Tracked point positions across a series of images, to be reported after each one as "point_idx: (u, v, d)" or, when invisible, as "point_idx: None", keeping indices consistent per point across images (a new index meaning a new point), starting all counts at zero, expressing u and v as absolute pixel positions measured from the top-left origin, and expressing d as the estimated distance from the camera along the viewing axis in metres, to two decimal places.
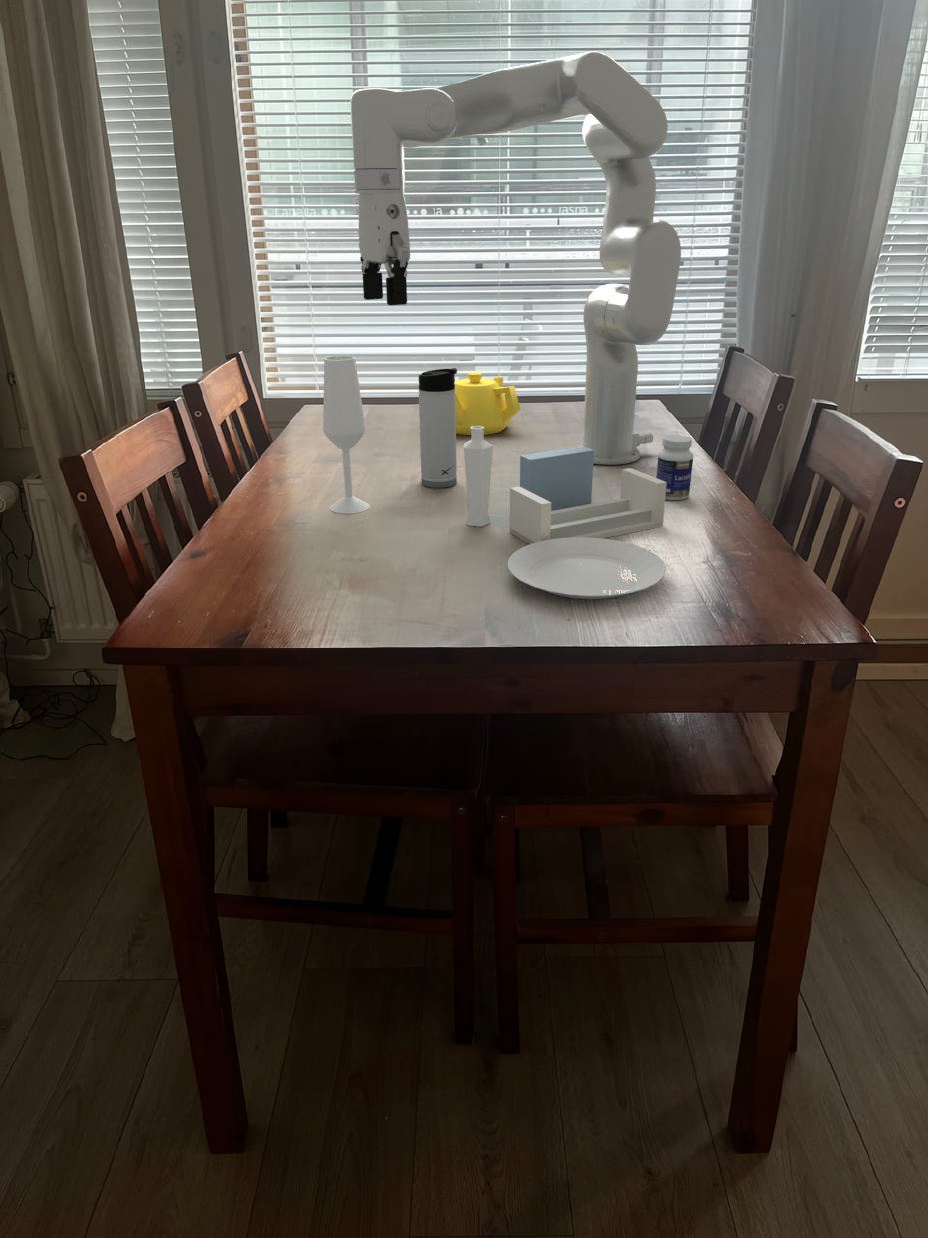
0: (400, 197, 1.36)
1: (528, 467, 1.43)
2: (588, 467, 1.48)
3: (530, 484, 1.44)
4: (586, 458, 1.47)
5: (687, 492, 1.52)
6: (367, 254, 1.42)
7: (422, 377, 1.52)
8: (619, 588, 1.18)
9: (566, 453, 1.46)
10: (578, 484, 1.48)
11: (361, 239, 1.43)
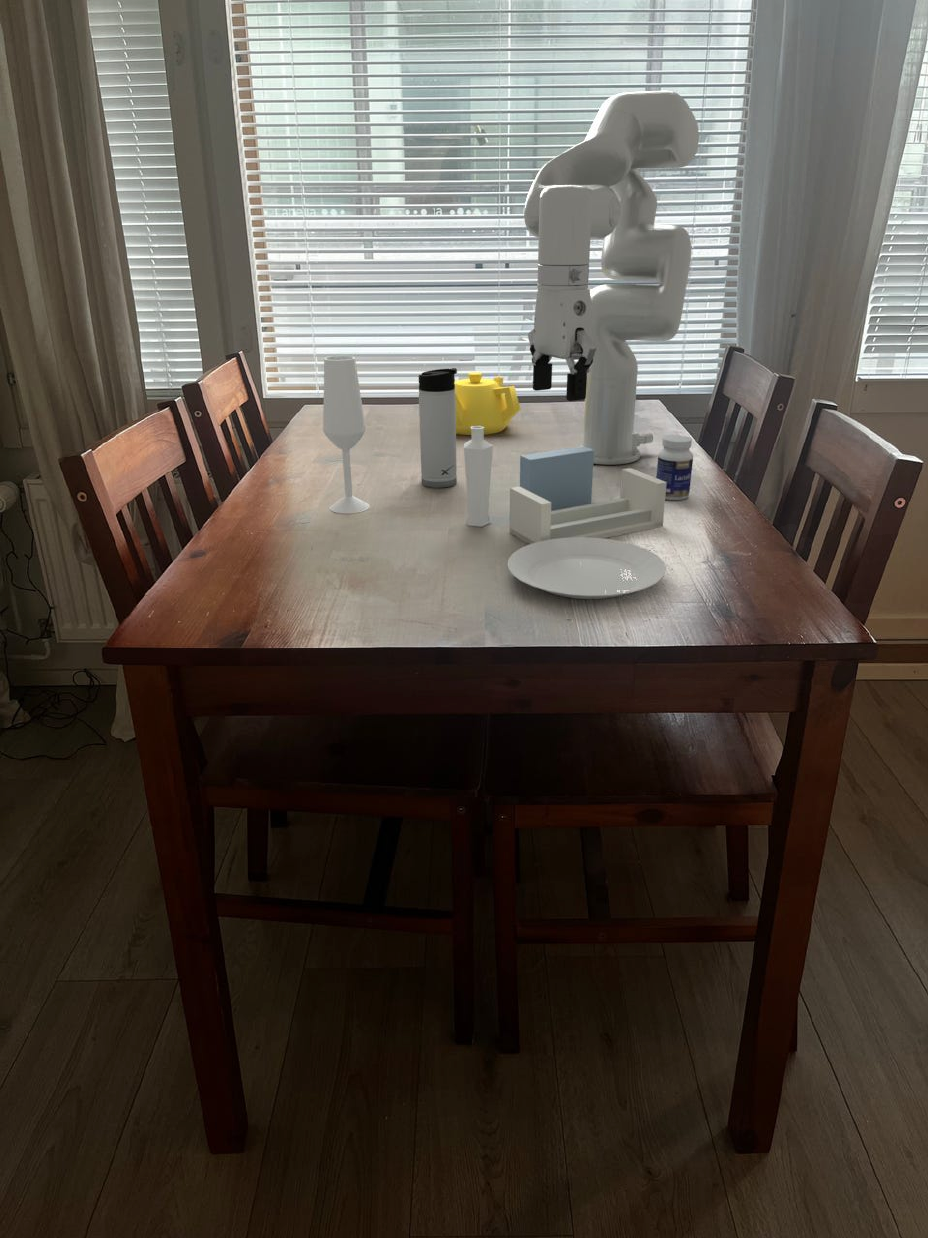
0: (587, 293, 1.32)
1: (528, 467, 1.43)
2: (588, 467, 1.48)
3: (530, 484, 1.44)
4: (586, 458, 1.47)
5: (687, 492, 1.52)
6: (544, 347, 1.39)
7: (422, 377, 1.52)
8: (619, 588, 1.18)
9: (566, 453, 1.46)
10: (578, 484, 1.48)
11: (537, 332, 1.40)
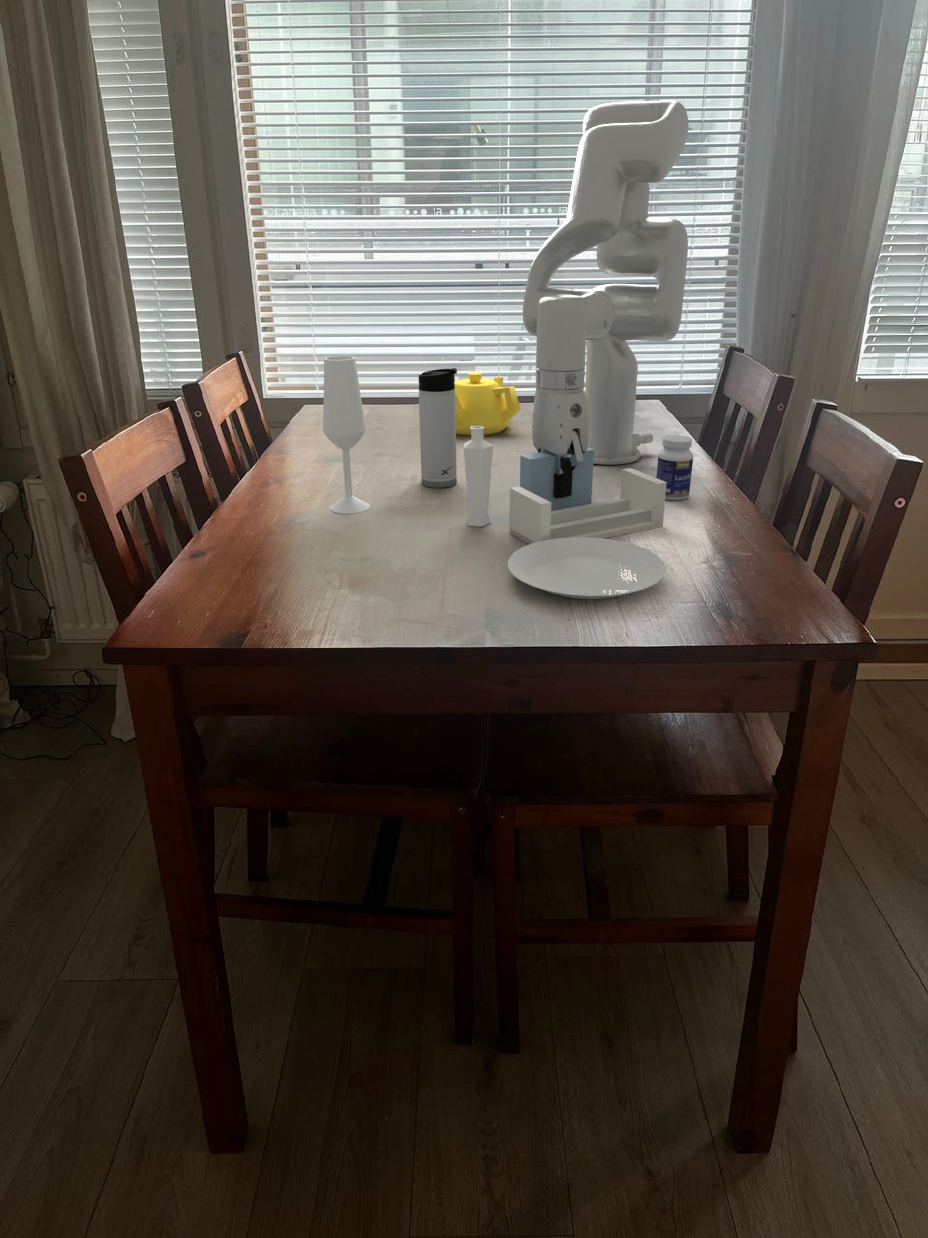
0: (583, 396, 1.39)
1: (528, 466, 1.43)
2: (588, 467, 1.48)
3: (530, 484, 1.44)
4: (586, 458, 1.47)
5: (687, 492, 1.52)
6: (542, 443, 1.45)
7: (422, 377, 1.52)
8: (619, 588, 1.18)
9: None
10: (578, 484, 1.48)
11: (536, 428, 1.46)
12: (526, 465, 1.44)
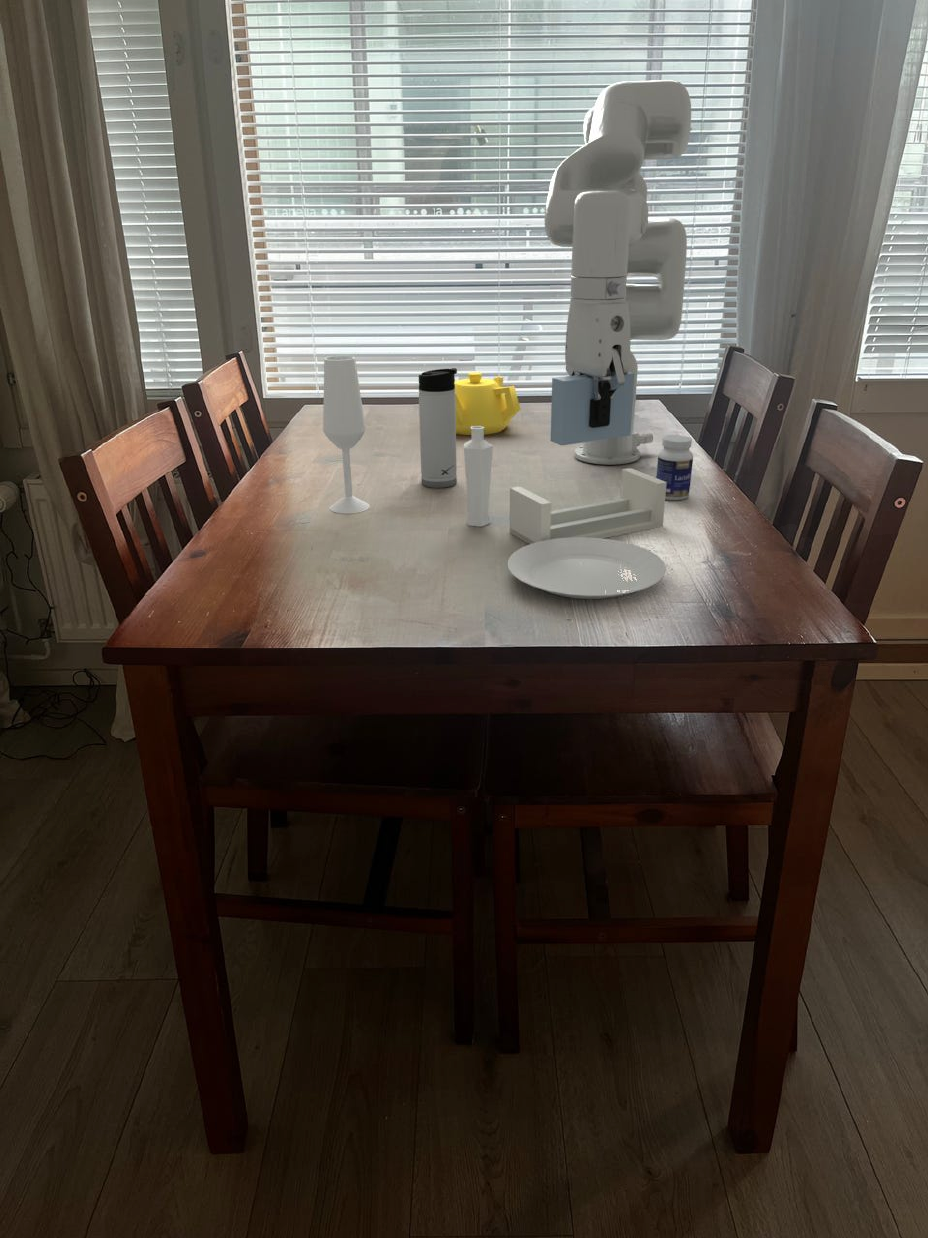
0: (625, 308, 1.22)
1: (562, 389, 1.27)
2: (628, 393, 1.31)
3: (564, 410, 1.28)
4: (626, 382, 1.31)
5: (687, 492, 1.52)
6: (577, 365, 1.29)
7: (422, 377, 1.52)
8: (619, 588, 1.18)
9: None
10: (616, 412, 1.32)
11: (569, 348, 1.30)
12: (559, 388, 1.27)
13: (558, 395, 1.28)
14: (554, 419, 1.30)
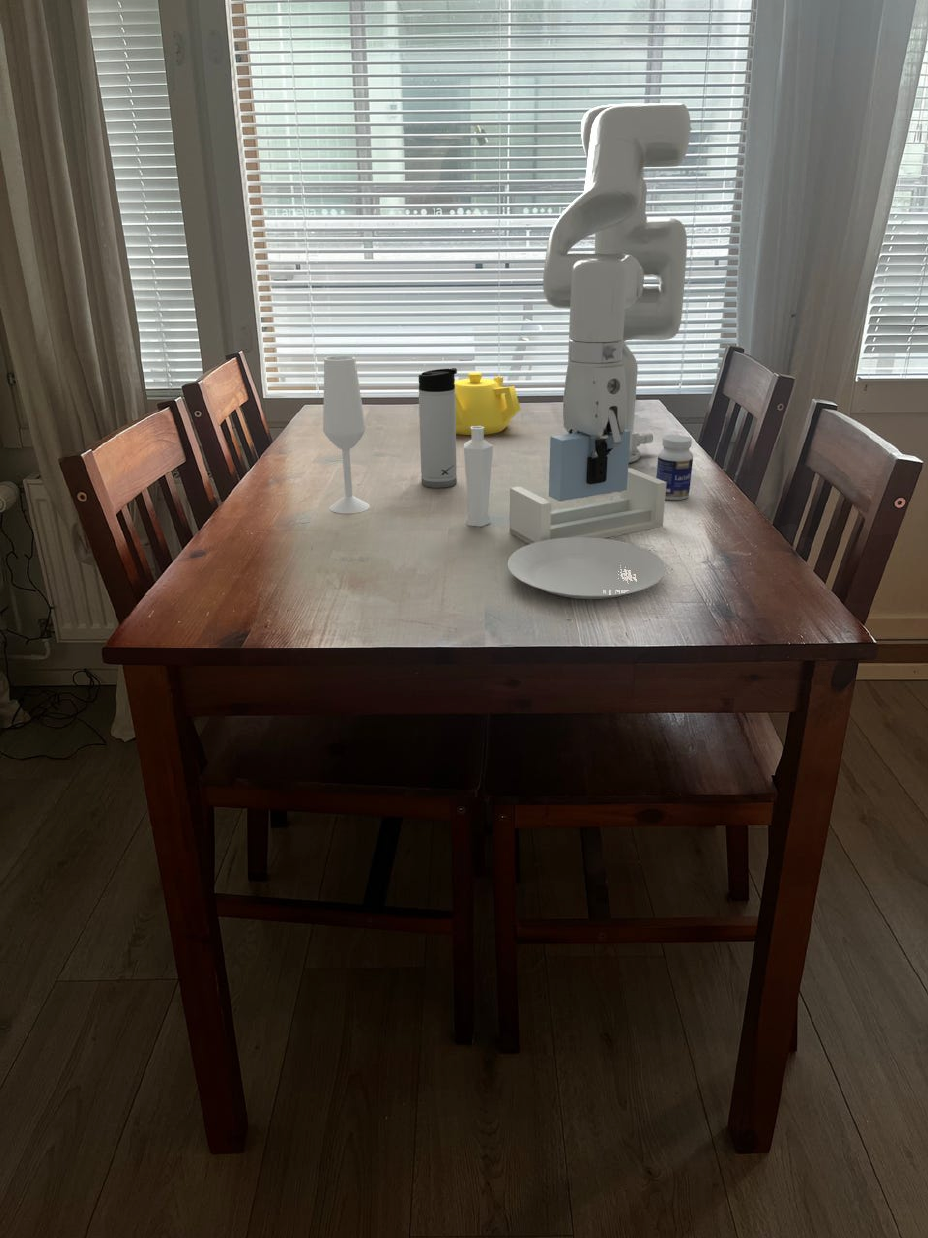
0: (621, 371, 1.26)
1: (560, 448, 1.30)
2: (624, 450, 1.35)
3: (561, 468, 1.31)
4: (622, 440, 1.34)
5: (687, 492, 1.52)
6: (575, 424, 1.32)
7: (422, 377, 1.52)
8: (619, 588, 1.18)
9: None
10: (613, 469, 1.35)
11: (567, 407, 1.33)
12: (557, 447, 1.31)
13: (556, 453, 1.31)
14: (552, 476, 1.33)
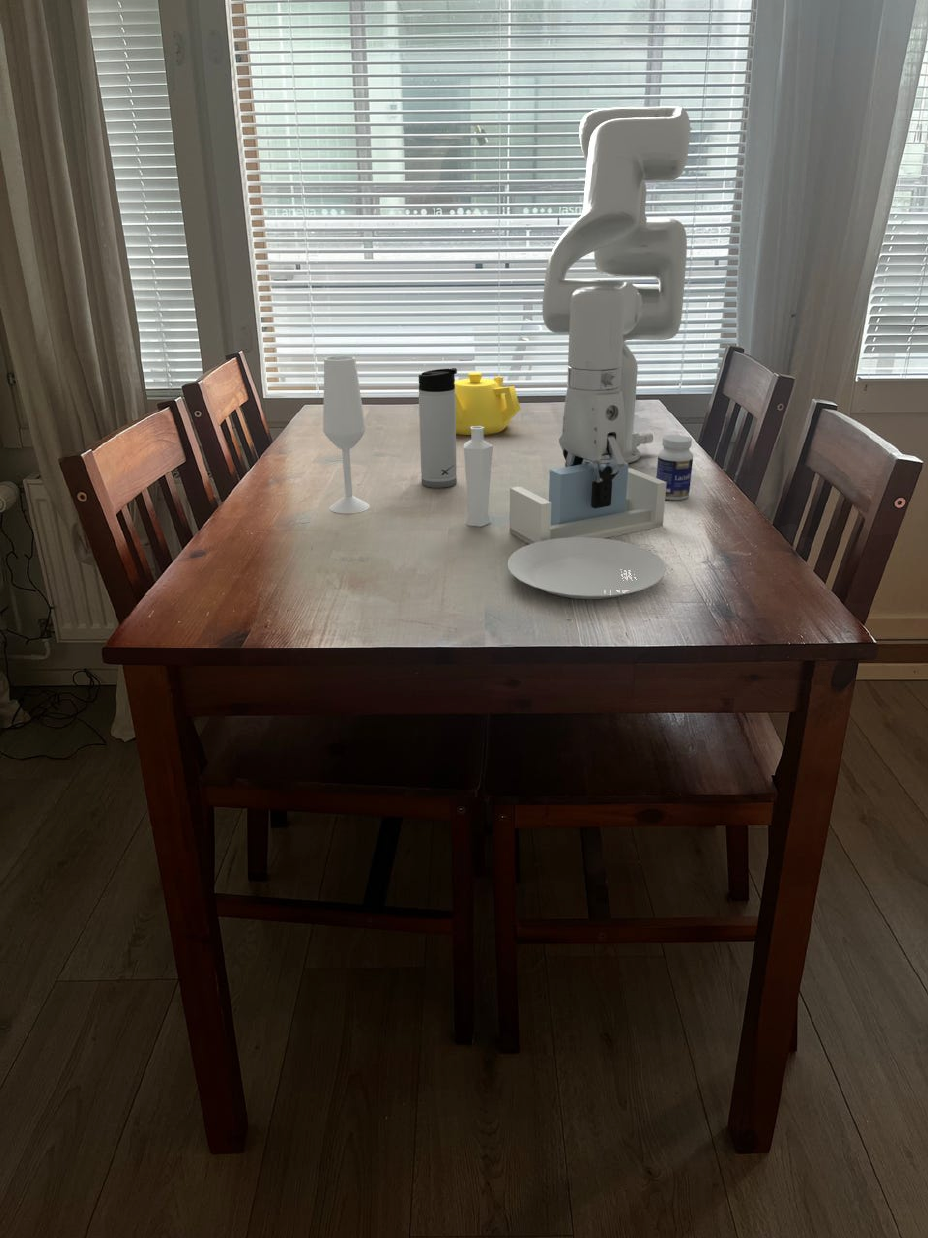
0: (619, 397, 1.27)
1: (559, 482, 1.32)
2: (622, 482, 1.37)
3: (561, 501, 1.33)
4: (620, 472, 1.36)
5: (687, 492, 1.52)
6: (574, 448, 1.34)
7: (422, 377, 1.52)
8: (619, 588, 1.18)
9: None
10: (611, 500, 1.38)
11: (566, 431, 1.35)
12: (556, 480, 1.33)
13: (555, 486, 1.33)
14: (551, 508, 1.36)
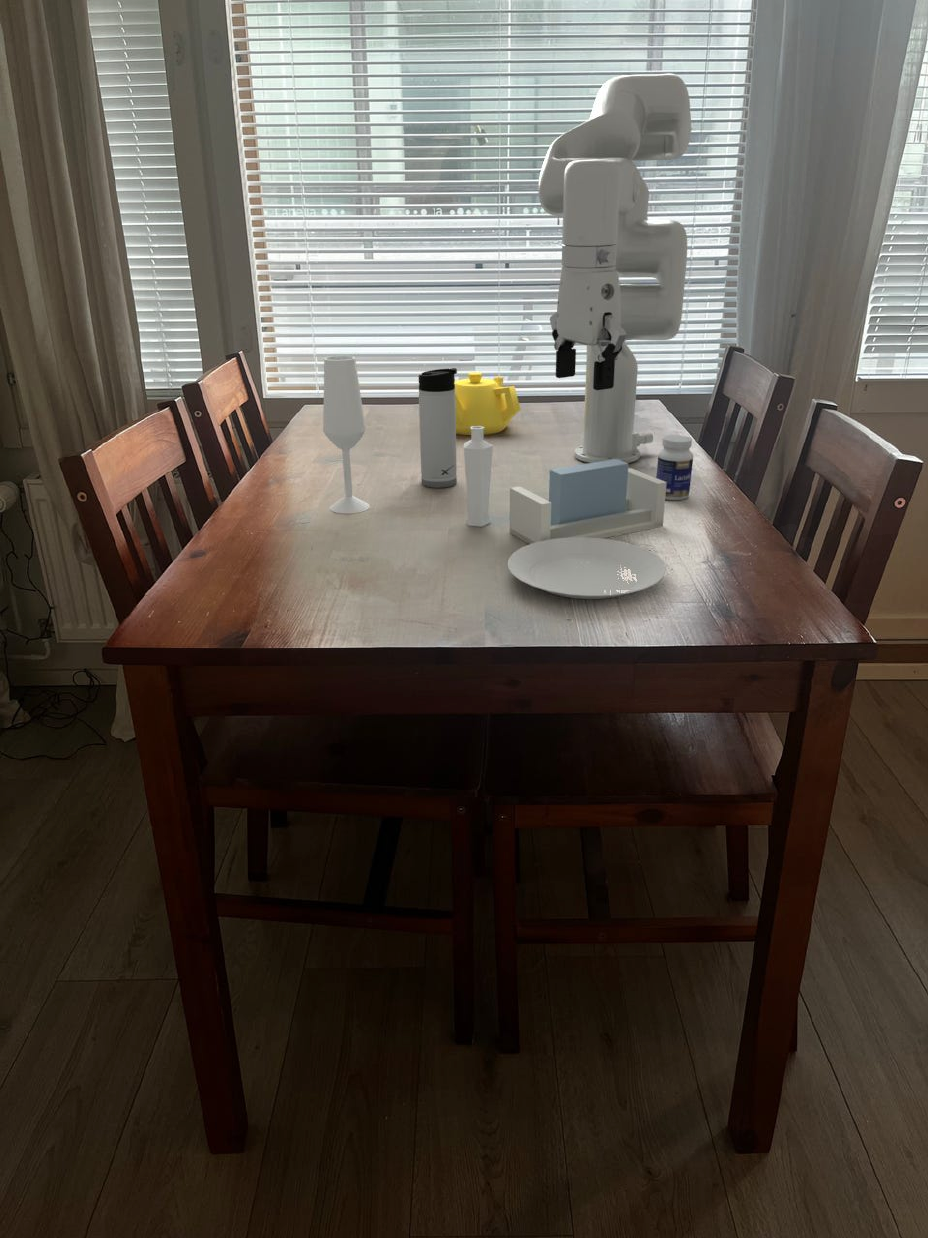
0: (615, 276, 1.25)
1: (559, 482, 1.32)
2: (622, 482, 1.37)
3: (561, 501, 1.33)
4: (620, 472, 1.36)
5: (687, 492, 1.52)
6: (569, 333, 1.31)
7: (422, 377, 1.52)
8: (619, 588, 1.18)
9: (599, 467, 1.35)
10: (611, 500, 1.38)
11: (561, 316, 1.32)
12: (556, 480, 1.33)
13: (555, 486, 1.33)
14: (551, 508, 1.36)
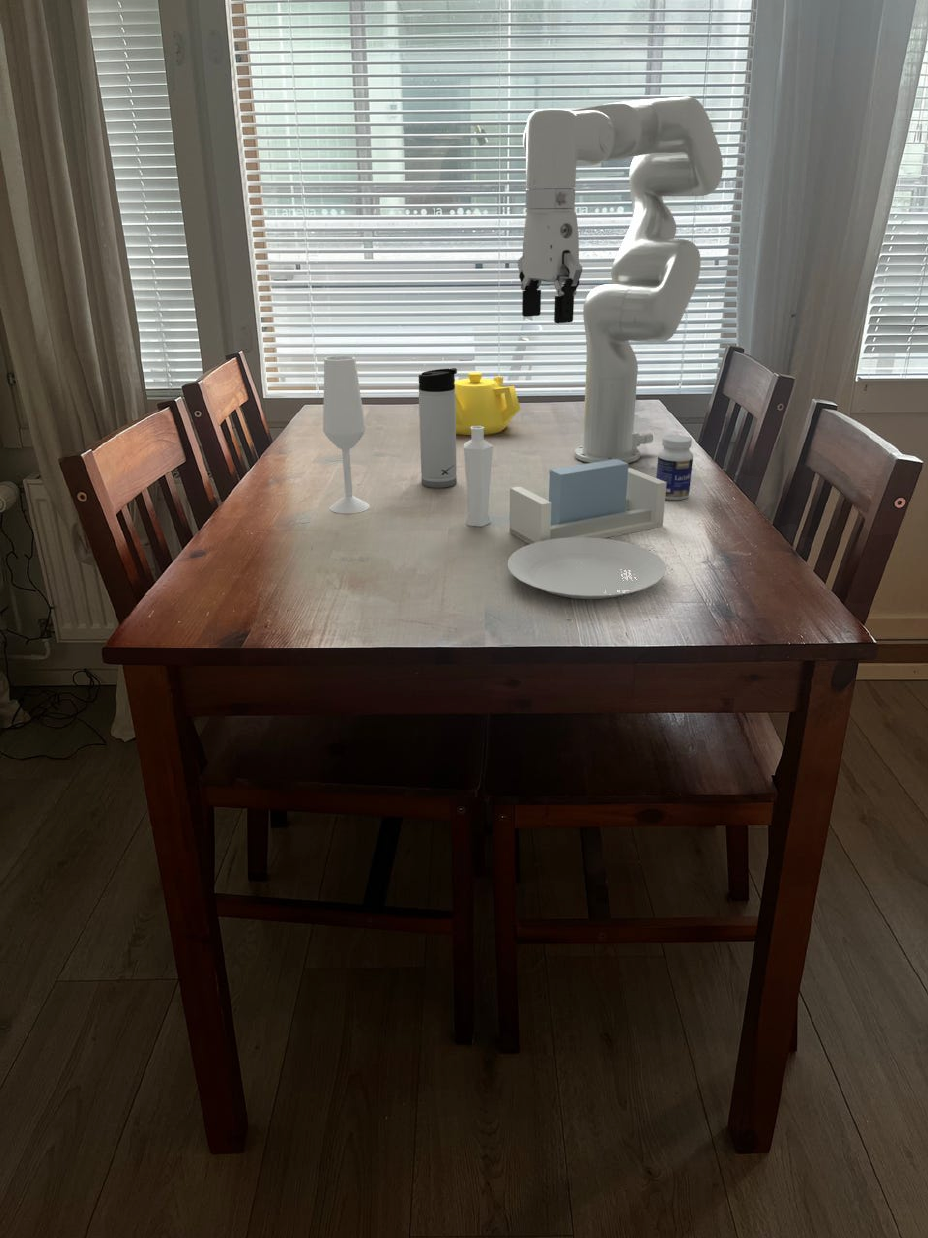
0: (573, 216, 1.37)
1: (559, 482, 1.32)
2: (622, 482, 1.37)
3: (561, 501, 1.33)
4: (620, 472, 1.36)
5: (687, 492, 1.52)
6: (532, 272, 1.43)
7: (422, 377, 1.52)
8: (619, 588, 1.18)
9: (599, 467, 1.35)
10: (611, 500, 1.38)
11: (526, 257, 1.44)
12: (556, 480, 1.33)
13: (555, 486, 1.33)
14: (551, 508, 1.36)
